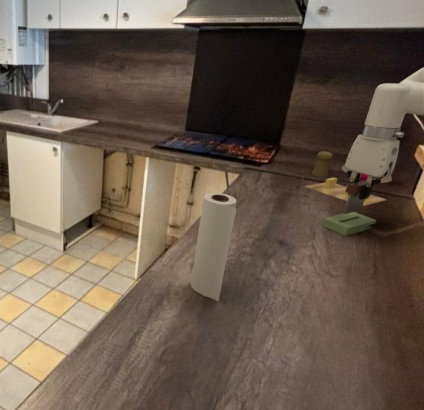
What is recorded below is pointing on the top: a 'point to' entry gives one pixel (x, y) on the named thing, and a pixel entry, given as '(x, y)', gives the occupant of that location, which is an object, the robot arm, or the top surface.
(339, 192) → the board
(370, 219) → the stand
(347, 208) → the scraper
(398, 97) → the robot arm
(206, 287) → the paper towel roll
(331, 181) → the butter pat
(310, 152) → the top surface
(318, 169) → the cork
